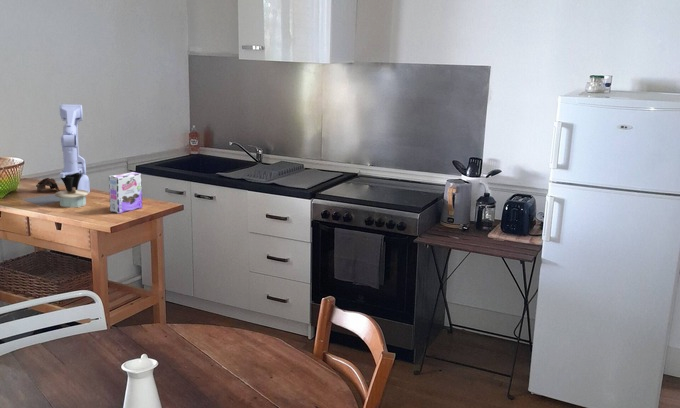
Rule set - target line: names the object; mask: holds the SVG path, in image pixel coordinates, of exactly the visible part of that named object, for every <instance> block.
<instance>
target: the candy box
mask: <svg viewBox="0 0 680 408" xmlns="http://www.w3.org/2000/svg"><path fill="white" fill-rule="evenodd" d="M142 184H143V183H142V173H139V172H136V171H135V172H134V171H132V172H127V173H126V172H125V173H120V174H114V175H108V187H109V188H108V190H109V191H108V194H109V211H110V212H112V213H115V214H121V213H125V212H126V213H127V212H131V211H135V210H139V209H140V210H141V209H143V189H142V188H143V187H142V186H143V185H142Z"/></svg>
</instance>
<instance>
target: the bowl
mask: <svg viewBox="0 0 680 408" xmlns="http://www.w3.org/2000/svg"><path fill="white" fill-rule="evenodd" d="M59 199H60V202H59V206H61V207H63V208H75V209H77V208H83V207H85V206H86V205H87V197H86V196H84V197H78V198H60V197H59Z"/></svg>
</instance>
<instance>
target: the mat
mask: <svg viewBox="0 0 680 408" xmlns="http://www.w3.org/2000/svg"><path fill="white" fill-rule="evenodd" d="M21 201H24V202H27V203H31V204H34V205H37V206H46V205H50V204H57V203H60V199H59V197H56V196H55V193H54V194H52V193H51V194H46V195H45V194H44V195H39V196H34V197H29V198H23V199H21Z"/></svg>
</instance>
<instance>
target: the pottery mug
mask: <svg viewBox="0 0 680 408" xmlns="http://www.w3.org/2000/svg"><path fill="white" fill-rule="evenodd" d="M35 186H36V190H37V192H39V193H40V192H41V191H42V190H45V191H46V189H47V188H46V186H47V187H49V189H50V190H55V191H56V192H59V191H61V190H60V188H59V186H58V184H57V182H56V180H55V179H54V178H50V177H46V178H43V179H42V180H40V181H38V183H37V184H35Z"/></svg>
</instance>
